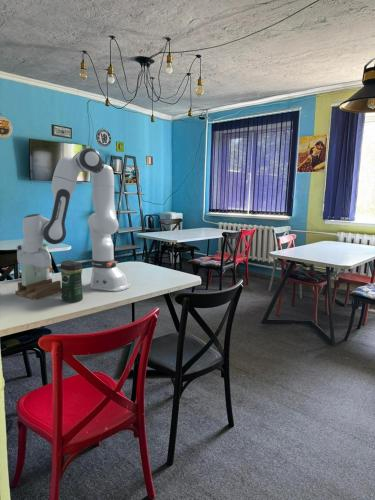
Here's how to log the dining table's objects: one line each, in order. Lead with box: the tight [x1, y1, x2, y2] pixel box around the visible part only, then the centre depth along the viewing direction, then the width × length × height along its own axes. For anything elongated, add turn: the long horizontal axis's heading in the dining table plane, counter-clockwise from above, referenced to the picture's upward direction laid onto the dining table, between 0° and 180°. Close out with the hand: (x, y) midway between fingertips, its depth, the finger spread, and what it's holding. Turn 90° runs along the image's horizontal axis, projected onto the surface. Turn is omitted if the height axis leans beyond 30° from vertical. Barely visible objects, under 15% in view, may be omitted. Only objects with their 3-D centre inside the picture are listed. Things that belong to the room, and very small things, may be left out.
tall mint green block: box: [20, 264, 48, 286], centre depth 170 cm, size 3×12×10 cm, turn 152°
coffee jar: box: [60, 260, 84, 303], centre depth 160 cm, size 10×8×19 cm
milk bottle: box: [43, 242, 53, 279], centre depth 197 cm, size 8×8×20 cm
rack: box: [14, 278, 62, 301], centre depth 170 cm, size 15×16×6 cm
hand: (34, 274), depth 170 cm, fingers closed on tall mint green block, 3 cm apart
